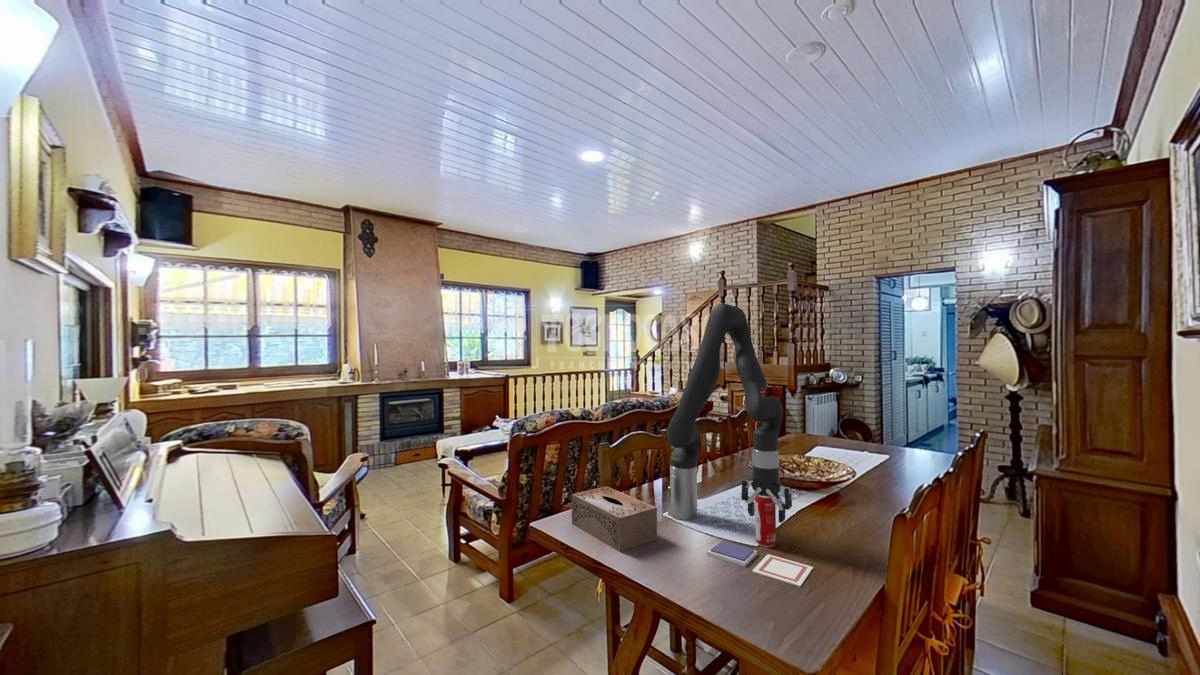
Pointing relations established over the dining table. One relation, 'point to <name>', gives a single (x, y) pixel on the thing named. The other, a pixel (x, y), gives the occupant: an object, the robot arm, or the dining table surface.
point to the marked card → (783, 570)
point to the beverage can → (765, 520)
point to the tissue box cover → (614, 518)
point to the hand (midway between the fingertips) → (766, 518)
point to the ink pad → (732, 553)
